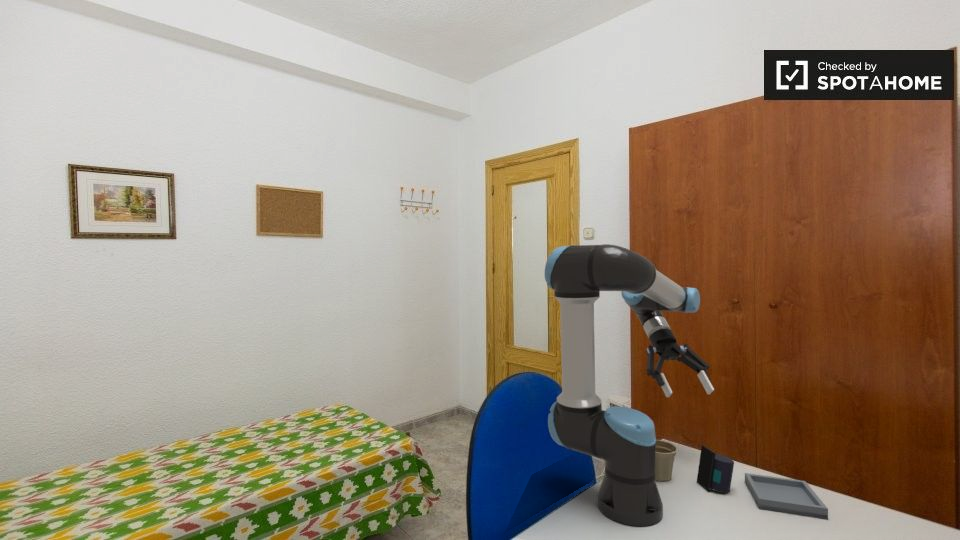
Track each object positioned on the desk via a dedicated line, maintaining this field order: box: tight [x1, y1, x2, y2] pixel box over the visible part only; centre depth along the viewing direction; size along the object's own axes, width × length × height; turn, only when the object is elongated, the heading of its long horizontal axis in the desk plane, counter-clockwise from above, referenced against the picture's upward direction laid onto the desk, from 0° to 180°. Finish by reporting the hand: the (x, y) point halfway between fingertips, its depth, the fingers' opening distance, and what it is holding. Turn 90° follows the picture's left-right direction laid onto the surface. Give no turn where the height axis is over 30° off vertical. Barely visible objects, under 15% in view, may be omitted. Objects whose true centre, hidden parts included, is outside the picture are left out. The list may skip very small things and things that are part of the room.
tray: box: [744, 472, 829, 520], centre depth 111 cm, size 14×14×2 cm
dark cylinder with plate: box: [696, 444, 735, 494], centre depth 117 cm, size 8×6×10 cm
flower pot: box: [655, 439, 679, 482], centre depth 124 cm, size 9×9×9 cm
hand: (690, 393), depth 128 cm, fingers open, 13 cm apart
